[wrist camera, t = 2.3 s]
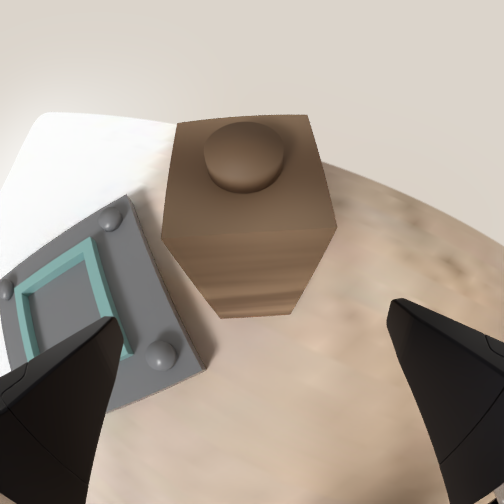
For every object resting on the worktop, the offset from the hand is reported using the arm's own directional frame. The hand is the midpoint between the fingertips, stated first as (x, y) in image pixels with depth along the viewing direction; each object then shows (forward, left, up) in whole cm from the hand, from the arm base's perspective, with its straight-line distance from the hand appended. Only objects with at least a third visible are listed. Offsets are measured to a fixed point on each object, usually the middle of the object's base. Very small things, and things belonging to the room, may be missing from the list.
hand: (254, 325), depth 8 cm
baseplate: (-13, +8, -11) cm, 19 cm away
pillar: (+2, +4, -11) cm, 12 cm away
